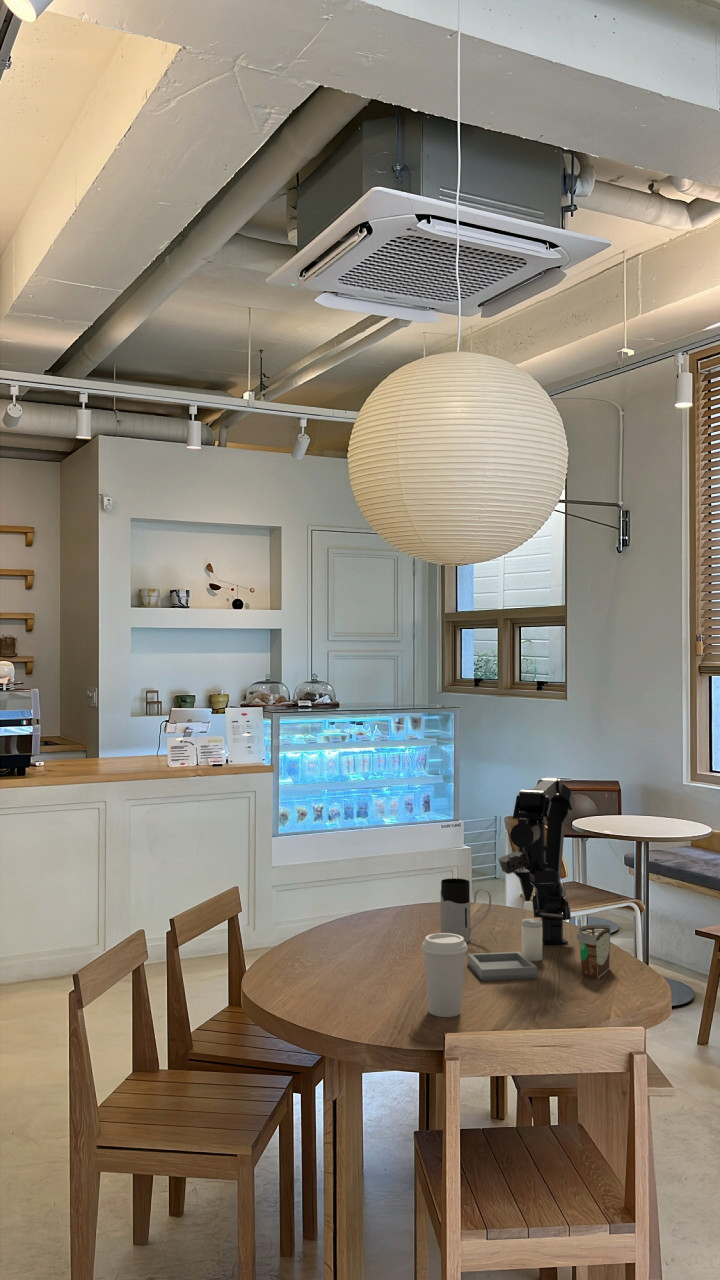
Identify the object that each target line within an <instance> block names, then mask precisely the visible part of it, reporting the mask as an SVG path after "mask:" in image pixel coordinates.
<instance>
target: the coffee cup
mask: <svg viewBox="0 0 720 1280" xmlns="http://www.w3.org/2000/svg"><path fill="white" fill-rule="evenodd" d="M468 949H469V947H468V944H467V942H465V941H464V938H463V937H462V936H460V935H457V934H451V933H441V932H438V933H431V934H428V935H426V936H425V938H424V941H422V944H421V950H422V951H423V956H424V967H425V979H426V992H427V1003H428V1004H427V1005H428V1012H429V1014H431V1015H433V1016H434V1017H440V1018H441V1017H442V1018H453V1017H458V1016H459V1015H460V1014H461V1013H462V1001H463V986H464V973H465V964H466V963H465V961H466V959H465V958H466V952H467V951H468Z"/></svg>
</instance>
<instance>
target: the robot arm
mask: <svg viewBox="0 0 720 1280" xmlns="http://www.w3.org/2000/svg"><path fill="white" fill-rule="evenodd" d="M515 798H516V799H515V803H514V809H513V815H512V819H513V820H517V823H516V824H515V825H514V826H513V827H512V828H511V830H510V833H509V834H510V835H509V836H510V841H511V842H512V844H513V845H515V846H516V847H517V850H516V851H512V852H511V853H508V854H506V855H503V856H501V857H500V858H499V857H498V862H499V866H500V867H501V871H502V872H504V873H505V874H512V873H513V874H514V875H515V876H516V877H517V878H518V879H519V883H520V886H521V890H522V894H523V897H524V901H525V902H530V901H531V898H532V911H533V917H534V919H537V918H538V919H539V918H540V920H541V921H542V945H558V944H559V945H562V944H563V945H564V944H569V941H568V940H567V939H565V938H564V921H565V922H566V921H567V920H571V919H572V918H571V917H572V916H571V915H572V914H571V913H572V912H571V907H570V904H569V899H568V898H567V895H566V894H567V893H566V889H565V888H564V885H563V884H562V883H563V882H562V881H561V876H562V865H563V853H564V851H563V850H564V840H565V838H564V837H565V828H566V825H567V824H568V823H569V821H570V820H571V819H572V817H573V816H572V814H573V811H574V810H575V805H576V803H575V802H576V801H575V796H574V793H573V791H572V789H570V788H569V787H568V786H566V784H564V782H563V780H562V779H561V778H558V777H544V778H541V781H540V782H539V783H537V784H536V785H535V786H534V787H532V788H523V789H520V791H519V793H518V794H516V797H515ZM546 822H547V823H546ZM546 824H547V827H546ZM534 889H535V890H534ZM533 891H535V892H534V894H533ZM532 895H533V896H532Z"/></svg>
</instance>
